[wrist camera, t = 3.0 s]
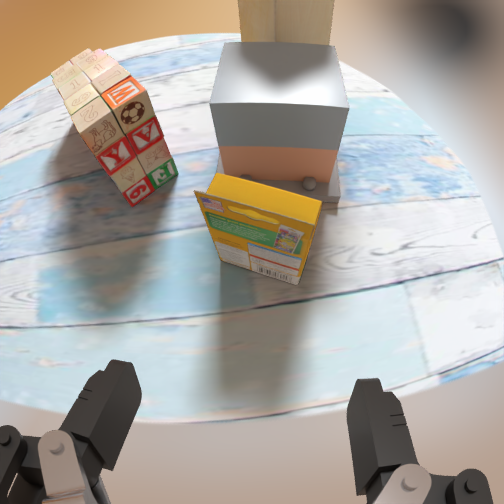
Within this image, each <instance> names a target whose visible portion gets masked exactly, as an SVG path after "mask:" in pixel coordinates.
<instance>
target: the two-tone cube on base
mask: <svg viewBox="0 0 504 504" xmlns="http://www.w3.org/2000/svg"><path fill="white" fill-rule="evenodd" d="M209 104H210V109H211V113H212V118H213V123H214V127H215V132H216V137H217V141H218V146H219V151H220V152H219V159H218V165H217V172H216V173H221V174H225V175H229V176H233V177H237V178H241V179H245V180H249V181H253V182H256V183H260V184H264V185H267V186H271V187H275V188H278V189H282V190H285V191H289V192H292V193H295V194H299V195H303V196H306V197H309V198H313V199H316V200H319V201H322V202H332V203H338V202H339V199H340V186H339V175H338V165H337V153H338V150H339V146H340V142H341V138H342V135H343V131H344V127H345V123H346V119H347V115H348V111H349V104H348V99H347V95H346V90H345V86H344V81H343V77H342V73H341V69H340V65H339V61H338V57H337V53H336V49H335V46H330V45H320V44H307V43H289V42H230V43H224V46H223V50H222V54H221V58H220V62H219V66H218V70H217V74H216V78H215V82H214V86H213V90H212V94H211V99H210V103H209Z"/></svg>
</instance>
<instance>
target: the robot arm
mask: <svg viewBox="0 0 504 504" xmlns="http://www.w3.org/2000/svg"><path fill="white" fill-rule="evenodd" d="M141 398H142V392H141V387H140V384H139V381H138V378H137V375H136V372H135V369H134V366H133V364H132V363H130V362H125V361H120V360H114V359H113V360H111V361H110V362H109V364H108V365H107V367H106V369H105V370H104V371H101V370H99V371H98V372H96V373H95V374H94V375H93V376H91V377H90V378H89V379H88V381H87V383H86V384H85V386H84V388H83V390H82V391H81V393H80V394H79V396H78V399H76V401H75V403H74V404H73V406H72V408H71V409H70V411H69V413H68V415H67V416H66V418H65V420H64V422H63V423H62V425H61V427H60V428H59V429H58V430H52V431H49V432H47V433H46V434H44V435H43V436H42V437H32V436H22V435H21V434H20V433H19V431H18V430H17V429H16V428H15V427H13V426H10V425H5V426H1V427H0V504H111V502H110V500H109V497H108V495H107V492H106V490H105V487H104V484H103V481H102V478H101V477H100V473H101V470H102V468H104V469H108V470H111V471H113V469H114V466H115V464H116V461H117V459H118V456H119V454H120V451H121V449H122V446H123V444H124V441H125V439H126V437H127V434H128V432H129V429H130V427H131V424H132V422H133V420H134V417H135V415H136V413H137V410H138V408H139V406H140V403H141ZM347 424H348V431H349V438H350V445H351V452H352V460H353V467H354V476H355V485H356V494H357V496H358V495H366V497H367V503H366V504H493V500H492V496H491V492H490V488H489V484H488V481H487V478H486V476H485V475H484V474H483V473H482V472H481V471H479V470H477V469H466V470H464V471H462V472H461V473H459V474H458V475H457V476H441V475H433V474H430V473H428V471H427V470H426V469H425V468H423V467H422V466H420V465H419V463H418V462H417V458H416V455H415V451H414V448H413V444H412V440H411V436H410V433H409V429H408V426H406V424H407V423H406V419H405V416H404V413H403V410H402V407H401V403H400V401H399V400H398V399H397V398H396V396H395V395H394V394H393V393H392V392H383V389H382V386H381V382H380V380H379V379H378V378H371V379H357V381H356V383H355V386H354V389H353V392H352V395H351V398H350V401H349V404H348V407H347ZM16 473H18V475H17V477H16V479H15V481H14V484H13V486H12V488H11V491H10V493H9V495H8V498H7V494H8V490H9V489H10V487H11V484H12V482H13V480H14V477H15V475H16Z"/></svg>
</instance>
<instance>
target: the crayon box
mask: <svg viewBox="0 0 504 504" xmlns="http://www.w3.org/2000/svg"><path fill="white" fill-rule="evenodd" d="M194 193H195V195H196V198H197V201H198V203H199V205H200V208H201V211H202V213H203V216H204V219H205V221H206V224H207V226H208V229H209V232H210V234H211V236H212V239H213V242H214V244H215V247H216V250H217V252H218V254H219V257H220V259H221V261H223V262H228V263H231V264H233V265H236V266H240V267H243V268H246V269H249V270H252V271H254V272H258V273H260V274H263V275H266V276H269V277H273V278H276V279H279V280H282V281H285V282H289V283H291V284H294V285H297V284H298V283H299V282H300V278H301V275H302V272H303V269H304V266H305V263H306V260H307V256H308V253H309V250H310V246H311V243H312V239H313V236H314V232H315V229H316V225H317V222H318V218H319V215H320V211H321V207H322V201H319V200H316V199H313V198H309V197H306V196H303V195H299V194H295V193H292V192H289V191H285V190H282V189H278V188H275V187H271V186H267V185H264V184H260V183H256V182H253V181H249V180H245V179H241V178H237V177H233V176H229V175H225V174H221V173H216V174H215V176H214V178H213V180H212V182H211V184H210V186H209V188H208V190H207V192H206V193H204V192H200V191H195V190H194Z"/></svg>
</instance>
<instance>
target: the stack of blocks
mask: <svg viewBox="0 0 504 504" xmlns="http://www.w3.org/2000/svg"><path fill="white" fill-rule="evenodd" d="M51 76H52V77H53V80H52V81H53V83H54V85H55V86H56V88H57V90H58V92H59V93H60V95H61V96H62V98H63V100H64V104H65V106H66V108H67V110H68V112H69V114H70V116H71V119H72V121H73V123H74V125H75V127H76V129H77V131H78V132H79V134H80V136H81V137H82V138H83V140H84V141H85V143H86V144H87V146H88V147H89V149H90V150H91V151H92V153H93V154H94V155H95V157H96V159H97V160H98V162H99V163H100V164H101V166H102V167H103V169H104V170H105V171H106V173H107V174H108V175H109V176H110V177H111V179H112V180H113V181H114V183H115V184H116V186H117V187H118V189H119V191H120V192H121V194H122V195H123V196H124V198H125V199H126V200H127V202H128V203H129V204H130V206H131V207H133V206H135V205H136V204H137V203H139V202H140V201H141V200H143V199H144V198H146V197H147V196H148V195H150V194H151V193H152V192H154V191H155V190H156V189H157V188H159V187H160V186H162V185H163V184H165V183H166V182H167V181H169V180H170V179H172V178H173V177H175V176H176V175H178V171H177V168H176V165H175V163H174V160H173V157H172V156H171V155H170V152H169V150H168V147H167V144H166V142H165V140H164V135H163V132H162V130H161V127H160V124H159V122H158V119H157V117H156V115H155V113H154V110H153V107H152V104H151V101H150V98H149V96H148V93H147V90H146V89H145V88H144V87H143V86H142V85H141V84H140V83H139V82H138V81H137V80H135V79H134V78H133V77H132V76H131V74H130V73H129V72H128V71H127V70H125V69H124V68H123V67H122V66H121V65H119V63H118V62H117V61H115V60H114V59H113V58H112V57H111V56H108V54H106V53H105V52H104V51H103V50H101V49H97V50H96V51H94V52H92V51H91V50H90V49H89V48H88V49H86V50H85V51H83V52H81V53H80V54H78V55H77V56H75V57H73V58H72V59H71V60H70V61H68V62H67V63H65V64H64V65H62V66H61V67H59V68H58V69H56V70H55V71H54V72H52V73H51Z"/></svg>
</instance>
